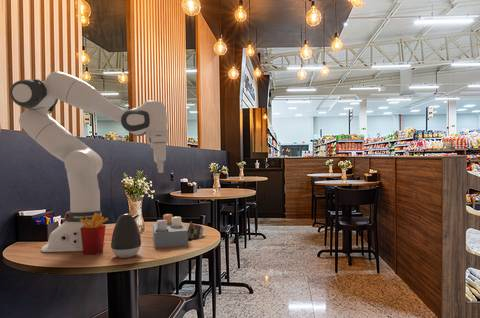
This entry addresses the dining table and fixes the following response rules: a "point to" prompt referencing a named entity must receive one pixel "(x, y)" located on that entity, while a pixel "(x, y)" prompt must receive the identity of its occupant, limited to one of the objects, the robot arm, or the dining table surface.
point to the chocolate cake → (195, 231)
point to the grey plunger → (162, 226)
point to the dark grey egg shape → (126, 237)
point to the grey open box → (170, 236)
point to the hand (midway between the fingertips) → (160, 172)
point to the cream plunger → (176, 222)
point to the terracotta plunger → (168, 218)
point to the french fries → (93, 235)
